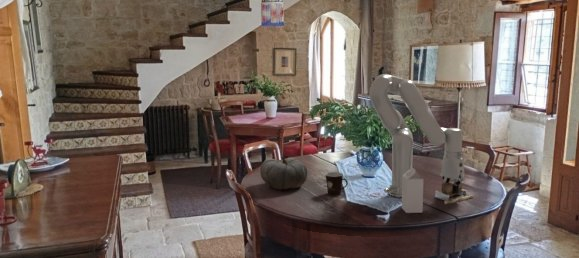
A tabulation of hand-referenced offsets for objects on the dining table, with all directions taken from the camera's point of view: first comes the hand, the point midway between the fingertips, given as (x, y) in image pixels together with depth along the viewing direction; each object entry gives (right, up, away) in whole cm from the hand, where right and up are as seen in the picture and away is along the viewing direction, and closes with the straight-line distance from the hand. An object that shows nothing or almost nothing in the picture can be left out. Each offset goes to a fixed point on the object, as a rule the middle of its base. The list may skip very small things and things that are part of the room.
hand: (451, 191), depth 209 cm
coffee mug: (-54, -3, +7) cm, 55 cm away
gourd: (-80, -1, +23) cm, 83 cm away
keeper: (0, -3, 0) cm, 3 cm away
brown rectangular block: (0, -1, 0) cm, 1 cm away
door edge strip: (+2, -3, -5) cm, 6 cm away
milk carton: (-24, -6, -17) cm, 30 cm away
